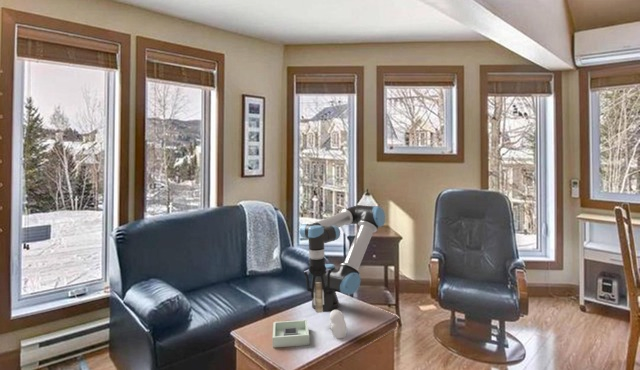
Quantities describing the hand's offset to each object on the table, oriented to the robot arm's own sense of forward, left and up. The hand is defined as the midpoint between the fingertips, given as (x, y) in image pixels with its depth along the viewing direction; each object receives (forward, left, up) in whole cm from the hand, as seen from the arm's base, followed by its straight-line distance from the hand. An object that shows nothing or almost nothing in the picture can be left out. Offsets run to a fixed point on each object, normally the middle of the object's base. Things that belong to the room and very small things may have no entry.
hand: (318, 303), depth 180 cm
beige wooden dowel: (0, 0, -4) cm, 4 cm away
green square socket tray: (+11, -14, -11) cm, 21 cm away
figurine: (+12, +8, -11) cm, 18 cm away
